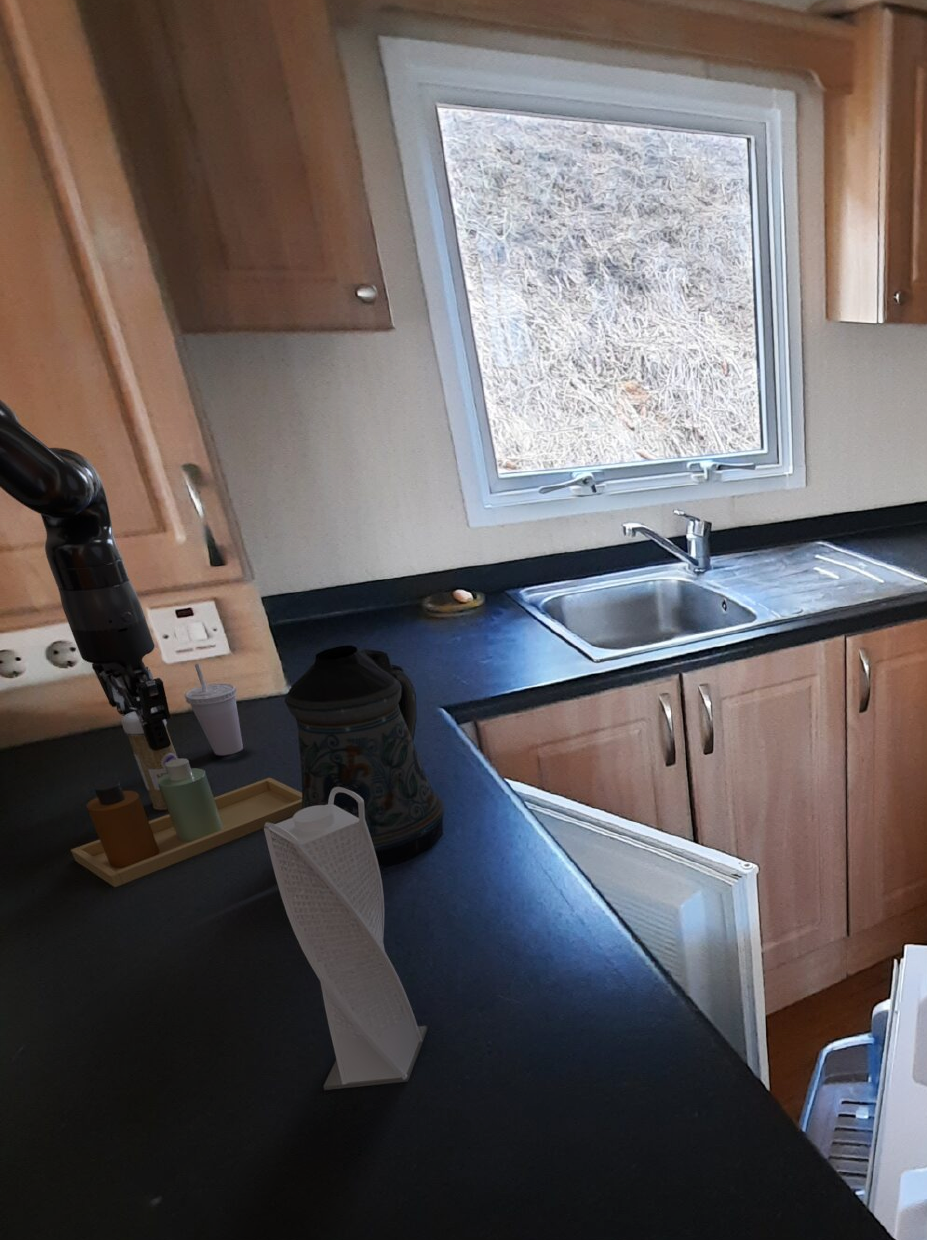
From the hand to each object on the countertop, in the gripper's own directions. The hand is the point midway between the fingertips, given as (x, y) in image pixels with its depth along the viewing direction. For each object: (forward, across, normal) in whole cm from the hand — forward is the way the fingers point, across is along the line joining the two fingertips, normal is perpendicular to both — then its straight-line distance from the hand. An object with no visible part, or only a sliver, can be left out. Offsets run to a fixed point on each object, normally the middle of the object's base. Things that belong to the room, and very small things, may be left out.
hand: (151, 742), depth 128 cm
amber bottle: (+9, +12, -10) cm, 18 cm away
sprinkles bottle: (+10, 0, 0) cm, 10 cm away
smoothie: (+10, -12, +13) cm, 20 cm away
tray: (+9, +12, -2) cm, 15 cm away
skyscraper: (+10, +69, -13) cm, 71 cm away
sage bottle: (+9, +12, -2) cm, 15 cm away
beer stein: (+10, +30, +11) cm, 33 cm away
